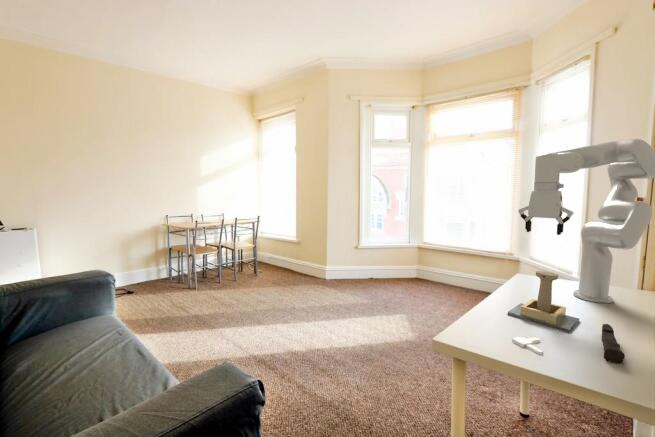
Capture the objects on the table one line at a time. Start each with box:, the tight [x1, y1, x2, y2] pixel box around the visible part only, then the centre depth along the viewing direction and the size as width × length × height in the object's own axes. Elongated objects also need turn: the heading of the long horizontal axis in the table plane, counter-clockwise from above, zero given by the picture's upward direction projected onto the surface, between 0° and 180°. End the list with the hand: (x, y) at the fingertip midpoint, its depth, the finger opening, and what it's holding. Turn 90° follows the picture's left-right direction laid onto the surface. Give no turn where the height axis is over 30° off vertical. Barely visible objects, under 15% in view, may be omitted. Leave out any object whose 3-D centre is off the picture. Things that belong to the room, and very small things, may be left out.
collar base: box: [507, 298, 580, 333], centre depth 111 cm, size 13×18×4 cm
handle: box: [535, 270, 559, 313], centre depth 110 cm, size 5×6×15 cm
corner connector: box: [511, 336, 544, 355], centre depth 92 cm, size 8×8×2 cm
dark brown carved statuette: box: [601, 323, 626, 365], centre depth 90 cm, size 19×4×5 cm, turn 142°
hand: (543, 233), depth 119 cm, fingers open, 9 cm apart
